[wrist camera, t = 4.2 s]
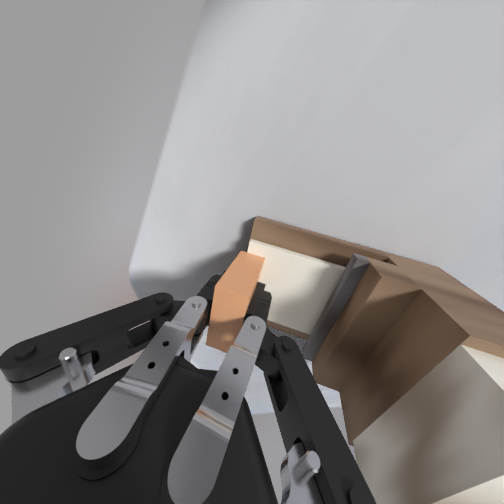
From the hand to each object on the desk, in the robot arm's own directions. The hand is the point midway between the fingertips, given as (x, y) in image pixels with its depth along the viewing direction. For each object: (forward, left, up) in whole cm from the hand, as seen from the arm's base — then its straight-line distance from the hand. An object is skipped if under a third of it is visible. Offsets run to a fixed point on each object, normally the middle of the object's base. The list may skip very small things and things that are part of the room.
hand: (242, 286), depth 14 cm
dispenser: (0, +7, -3) cm, 8 cm away
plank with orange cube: (0, +4, -2) cm, 4 cm away
